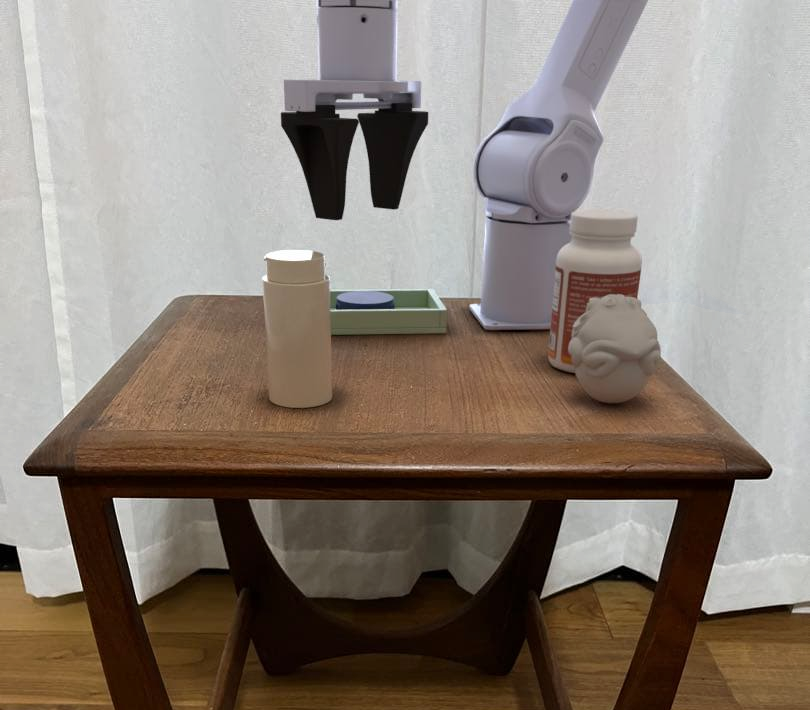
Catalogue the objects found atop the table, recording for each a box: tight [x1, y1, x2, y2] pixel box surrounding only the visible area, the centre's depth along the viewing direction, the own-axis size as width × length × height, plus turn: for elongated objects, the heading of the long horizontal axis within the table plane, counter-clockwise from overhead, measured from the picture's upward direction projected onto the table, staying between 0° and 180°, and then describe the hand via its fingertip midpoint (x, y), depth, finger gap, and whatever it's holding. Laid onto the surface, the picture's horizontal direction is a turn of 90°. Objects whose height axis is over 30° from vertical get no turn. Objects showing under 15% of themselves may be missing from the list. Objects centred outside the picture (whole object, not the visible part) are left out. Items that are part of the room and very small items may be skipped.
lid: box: [336, 291, 394, 310], centre depth 77 cm, size 5×5×2 cm
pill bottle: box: [547, 209, 643, 374], centre depth 65 cm, size 6×6×11 cm
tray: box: [330, 288, 448, 336], centre depth 77 cm, size 13×8×2 cm, turn 97°
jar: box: [261, 249, 333, 409], centre depth 57 cm, size 4×4×9 cm
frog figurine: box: [568, 294, 662, 404], centre depth 59 cm, size 6×7×7 cm
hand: (358, 213), depth 68 cm, fingers open, 7 cm apart
